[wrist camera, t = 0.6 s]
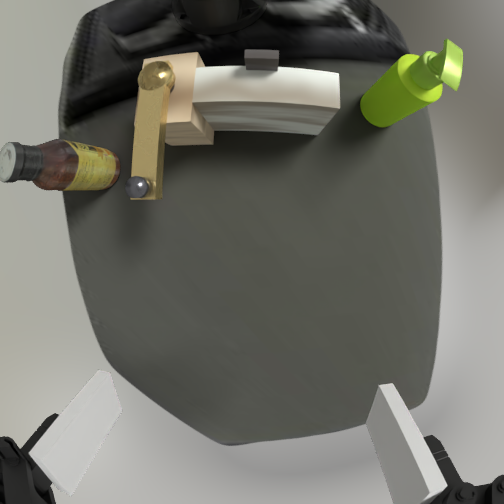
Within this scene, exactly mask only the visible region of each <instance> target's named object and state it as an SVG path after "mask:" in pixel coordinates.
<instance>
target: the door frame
mask: <svg viewBox="0 0 504 504" xmlns="http://www.w3.org/2000/svg"><path fill="white" fill-rule="evenodd" d="M244 59H245V65H246V66H217V67H205V65H204V63H203V61H202V59H201V57H200V55H199V53H198V52H194V53H184V54H175V55H168V56H161V57H155V58H149V59H144V63H143V68H144V64H147V63H151V62H154V61H166V60H169V62H170V63H171V64H172V66H173V71H174V73H175V76H176V80H175V84H174V86H173V87H172V88H171V89H170V96H169V105H168V114H167V124H166V136H165V143H167V144H169V145H171V146H175V145H213V141H214V131H268V132H286V133H299V134H311V135H318V134H319V133H320V132H321V131H322V130H323V128H324V127H325V126H326V125H327V124H328V122H329V121H330V120H331V119H332V118H333V116H334V115H335V114H336V113H337V112H338V110H339V109H340V90H339V73H333V72H326V71H318V70H309V69H299V68H287V67H278V63H279V50H245V56H244ZM143 68H142V69H143ZM139 93H140V86H139V92H138V98H137V106H136V113H135V122H134V126H135V123H136V115H137V107H138V100H139Z"/></svg>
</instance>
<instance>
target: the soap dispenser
mask: <svg viewBox="0 0 504 504" xmlns="http://www.w3.org/2000/svg"><path fill="white" fill-rule="evenodd" d="M462 66H463V51H462V49H460V48H459V47H458V46H456V45H455V44H454V43H452V42H451V41H450V40H448V39H446V40H444V48H443V50H442V51H441V52H440V53H438V54H437V53H435V52H431V51H428V52H425V53H424V54H423V55H422V56H417V55H413V54H407V55H404V56H402V57H401V58H400V59H399V60H398V61H397V62H396V63H395V64H394V65H393V66H392V67H391V68H390V69H389V70H388V71H387V72H386V73H385V74H384V75H383V76H382V77H381V78H380V79H379V80H378V81H377V82H376V83H375V84H374V85H373V86H372V87H371V88H370V89H369V90H368V91H367V92H366V93H365V94H364V95H363V96H362V98H361V101H360V108H361V111H362V114H363V115H364V117H365V118H366V119H367V120H368V121H369V122H370V123H371V124H373V125H375V126H377V127H388V126H390V125H392V124H394V123H395V122H397V121H399V120H401V119H403V118H405V117H406V116H408V115H410V114H412V113H414V112H416V111H417V110H419V109H421V108H423V107H425V106H427V105H429V104H431V103H432V102H434V101H436V100H437V99H439V98H440V96H441V94H442V83H443V82H445V83H446V84H447V85H448V86H450V87H451V88H452V89H454V90H455V91H457V89H458V87H459V83H460V79H461V74H462Z"/></svg>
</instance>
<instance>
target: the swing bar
mask: <svg viewBox="0 0 504 504" xmlns="http://www.w3.org/2000/svg"><path fill="white" fill-rule="evenodd" d="M175 80H176V76H175V73H174V71H173V66H172V64H171V63H170V62H169V60H166V61H154V62H151V63H147V64H144V68H143V69H142V70H141V72H140V74H139V76H138V84H139V86H140V93H139V100H138V107H137V115H136V123H135V133H134V144H133V157H132V174H131V178H129V179H128V181H127V183H126V186H125V190H126V193H127V195H128V196H129V197H131V200H134V199H162V186H163V165H164V149H165V136H166V124H167V114H168V105H169V96H170V89H171V88H172V87H173V86H174V84H175Z"/></svg>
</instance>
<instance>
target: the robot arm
mask: <svg viewBox="0 0 504 504" xmlns="http://www.w3.org/2000/svg"><path fill="white" fill-rule="evenodd" d="M266 7H267V0H172V11H173V14H174V16H175V18H176V20H177V21H178V23H179V24H180V25H181V26H182V27H183V28H185V29H186V30H188V31H191V32H194V33H197V34H204V35H219V34H226V33H231V32H234V31H238V30H240V29H243V28H245V27H247V26H249V25H251V24H252V23H254V22H255V21H256V20H258V19H259V18H260V17H261V16H262V14H263V13H264V11H265V9H266ZM121 412H122V407H121V404H120V401H119V398H118V395H117V392H116V389H115V386H114V383H113V379H112V376H111V373H110V372H106V371H102V370H98V371H97V372H96V373H95V374H94V375H93V376H92V378H91V379H90V380H89V381H88V382H87V383H86V384H85V386H84V387H83V388H82V389H81V390H80V392H79V393H78V394H77V395H76V396H75V397H74V398H73V400H72V401H71V402H70V403H69V404H68V406H67V407H66V408H65V409H64V410H63V411H62V413H61V414H60V415H58V414H56V413H55V414H53V415H51V416H49V417H48V418H46V419H45V421H44V422H43V423H42V424H41V426H40V427H39V428H38V429H37V431H35V432H34V434H33V435H32V436H31V437H30V438H29V440H28V441H27V442H26V443H25V445H24V446H23V447H22V448H21V449H19V447H18V446H17V444H16V443H15V442H14V440H13V439H11V438H10V437H5V436H4V437H0V504H56V502H55V499H54V494H53V491H52V489H51V487H50V485H51V484H52V483H53V484H54V485H55V486H56V487H57V489H59V490H60V491H62V492H64V493H66V494H68V495H70V496H72V494H73V493H74V491H75V489H76V487H77V486H78V484H79V482H80V480H81V479H82V477H83V475H84V474H85V472H86V470H87V469H88V467H89V465H90V464H91V462H92V460H93V458H94V457H95V455H96V453H97V452H98V450H99V448H100V447H101V445H102V443H103V442H104V440H105V438H106V437H107V435H108V433H109V432H110V430H111V428H112V427H113V425H114V424H115V422H116V420H117V419H118V417H119V416H120V414H121ZM366 425H367V428H368V431H369V433H370V436H371V439H372V442H373V444H374V447H375V450H376V453H377V456H378V459H379V461H380V464H381V467H382V470H383V473H384V475H385V479H386V482H387V485H388V488H389V491H390V494H391V497H392V500H393V503H394V504H504V475H501V476H498V477H497V478H496V479H495V480H494V481H493V482H492V483H490V484H486V485H480V486H473V485H472V484H470V483H468V482H466V483H465V482H463V481H462V480H461V478H460V476H459V474H458V473H457V471H456V469H455V467H454V465H453V463H452V461H451V460H450V458H449V457H448V454H447V453H446V451H445V449H444V447H443V445H442V444H441V442H440V441H439V440H438V439H437V438H435V437H434V436H433V435H430V436H426V437H423V436H422V435H421V433H420V431H419V429H418V427H417V425H416V424H415V422H414V420H413V418H412V416H411V414H410V413H409V411H408V409H407V407H406V405H405V404H404V402H403V400H402V398H401V397H400V395H399V393H398V392H397V390H396V388H395V386H394V385H393V383H391V384H384V385H379V387H378V390H377V393H376V396H375V399H374V402H373V405H372V408H371V411H370V413H369V416H368V419H367V421H366Z"/></svg>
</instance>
